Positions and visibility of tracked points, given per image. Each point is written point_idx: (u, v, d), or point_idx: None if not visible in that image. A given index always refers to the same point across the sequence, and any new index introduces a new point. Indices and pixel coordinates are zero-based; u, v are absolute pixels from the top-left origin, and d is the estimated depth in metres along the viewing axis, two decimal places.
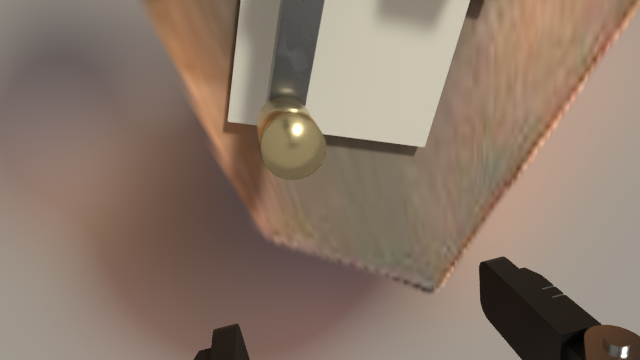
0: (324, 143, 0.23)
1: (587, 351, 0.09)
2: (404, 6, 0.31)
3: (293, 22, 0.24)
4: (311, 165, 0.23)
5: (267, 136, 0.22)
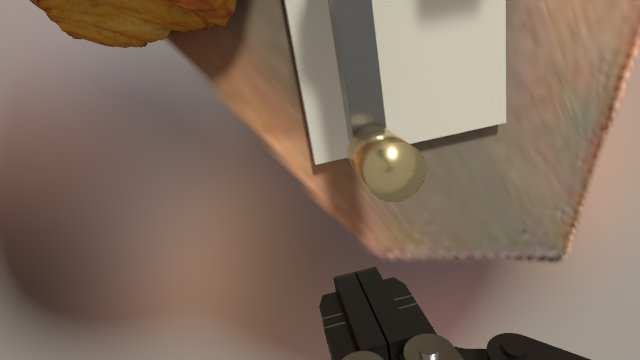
0: (422, 157, 0.24)
1: None
2: (443, 1, 0.31)
3: (353, 59, 0.26)
4: (416, 181, 0.24)
5: (369, 170, 0.23)
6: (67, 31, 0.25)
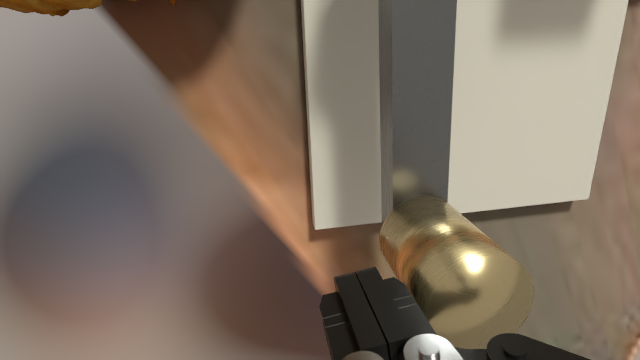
0: (530, 283, 0.13)
1: None
2: (537, 15, 0.21)
3: (412, 87, 0.15)
4: (512, 321, 0.13)
5: (434, 299, 0.12)
6: None
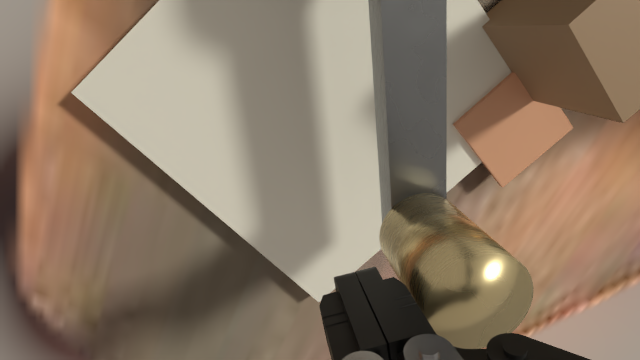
0: (529, 279, 0.13)
1: None
2: None
3: (405, 86, 0.15)
4: (512, 317, 0.13)
5: (433, 298, 0.12)
6: None
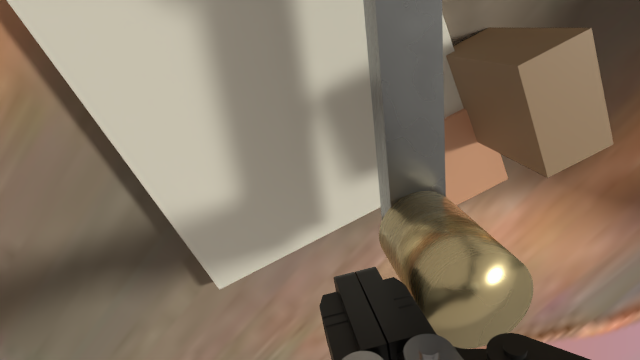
0: (528, 277, 0.13)
1: None
2: (349, 124, 0.21)
3: (401, 84, 0.15)
4: (512, 315, 0.13)
5: (432, 298, 0.12)
6: None
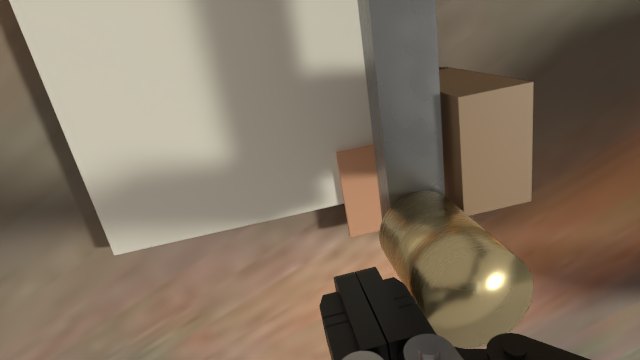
0: (528, 274, 0.13)
1: None
2: (293, 120, 0.21)
3: (397, 85, 0.15)
4: (513, 313, 0.13)
5: (431, 297, 0.12)
6: None
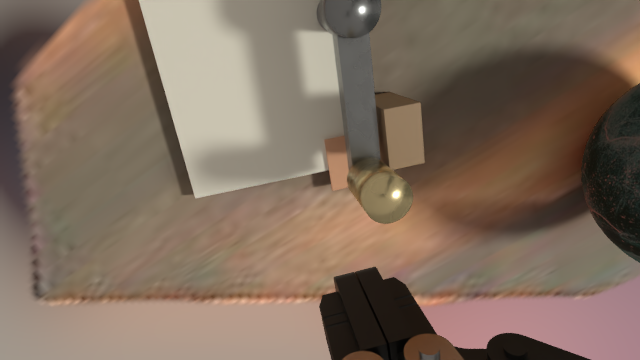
0: (409, 188, 0.29)
1: None
2: (300, 121, 0.36)
3: (355, 103, 0.31)
4: (404, 207, 0.29)
5: (367, 197, 0.28)
6: None
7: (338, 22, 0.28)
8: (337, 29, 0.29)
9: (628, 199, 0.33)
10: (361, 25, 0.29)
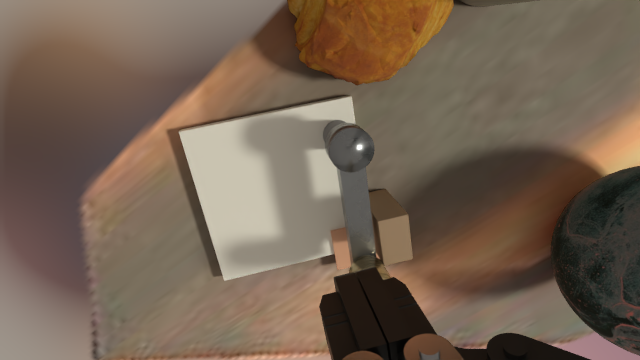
0: None
1: None
2: (310, 217, 0.44)
3: (354, 216, 0.39)
4: None
5: None
6: None
7: (340, 162, 0.36)
8: (339, 167, 0.36)
9: (582, 288, 0.40)
10: (358, 162, 0.36)
